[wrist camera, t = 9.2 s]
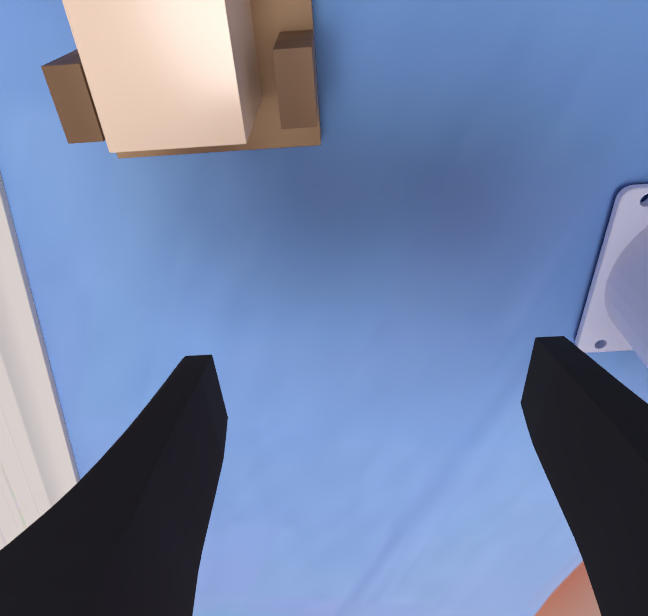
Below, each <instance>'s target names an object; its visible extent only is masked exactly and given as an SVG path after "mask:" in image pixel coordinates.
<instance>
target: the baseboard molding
mask: <svg viewBox="0 0 648 616" xmlns="http://www.w3.org/2000/svg"><path fill="white" fill-rule="evenodd" d="M79 481H80V479H79V475H78V471H77V467H76V463H75V459H74V456H73V452H72V448H71V444H70V440H69V436H68V432H67V429H66V425H65V421H64V417H63V413H62V409H61V405H60V401H59V398H58V394H57V390H56V386H55V382H54V378H53V374H52V371H51V367H50V363H49V359H48V355H47V351H46V347H45V343H44V340H43V336H42V332H41V328H40V324H39V320H38V316H37V313H36V309H35V305H34V301H33V297H32V293H31V289H30V286H29V282H28V278H27V274H26V270H25V266H24V262H23V258H22V255H21V251H20V247H19V243H18V239H17V235H16V231H15V228H14V224H13V220H12V216H11V212H10V208H9V204H8V201H7V197H6V193H5V189H4V185H3V181H2V177H1V173H0V550H1V549H2V548H4V547H5V546H6V545H7V544H9V543H10V542H11V541H12V540H13V539H15V538H16V537H17V536H18V535H19V534H21V533H22V532H23V531H24V530H25V529H26V528H28V527H29V526H30V525H31V524H32V523H34V522H35V521H36V520H37V519H38V518H39V517H41V516H42V515H43V514H44V513H45V512H47V511H48V510H49V509H50V508H51V507H52V506H53V505H54V504H56V503H57V502H58V501H59V500H60V499H61V498H62V497H63V496H64V495H65V494H66V493H67V492H68V491H69V490H70V489H71V488H72V487H74V486H75V485H76V484H77V483H78V482H79Z"/></svg>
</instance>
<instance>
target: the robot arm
mask: <svg viewBox="0 0 648 616" xmlns="http://www.w3.org/2000/svg"><path fill="white" fill-rule="evenodd" d="M646 194H648V184H637V185H630V186H627V187H625V188H623V189H622V190H621V191H620V192H619V193H618V195H617V197H616V199H615V203H614V206H613V210H612V213H611V217H610V220H609V224H608V227H607V231H606V234H605V238H604V241H603V245H602V248H601V252H600V255H599V259H598V262H597V266H596V269H595V273H594V276H593V280H592V283H591V287H590V290H589V294H588V297H587V301H586V304H585V308H584V311H583V315H582V318H581V322H580V326H579V329H578V333H577V336H576V340H575V344H576V345H574V344H573V343H572V342H571V341H569V340H568V339H567V338H565V337H564V336H555V337H537V338H535V342H534V346H533V351H532V355H531V360H530V364H529V369H528V373H527V378H526V382H525V386H524V391H523V395H522V400H521V406H522V409H523V413H524V416H525V420H526V424H527V427H528V430H529V433H530V437H531V440H532V443H533V446H534V448H535V450H536V453H537V455H538V457H539V460H540V462H541V464H542V467H543V469H544V471H545V473H546V476H547V478H548V480H549V482H550V485H551V487H552V489H553V491H554V493H555V496H556V498H557V500H558V502H559V505H560V507H561V509H562V511H563V514H564V516H565V518H566V520H567V522H568V525H569V527H570V529H571V531H572V534H573V536H574V538H575V541H576V543H577V546H578V548H579V551H580V553H581V556H582V558H583V561H584V564H585V567H586V570H587V573H588V576H589V579H590V582H591V585H592V588H593V591H594V594H595V597H596V600H597V603H598V606H599V609H600V612H601V616H648V404H647V403H646V402H645V401H643V400H642V399H641V398H640V397H638V396H637V395H636V394H634V393H633V392H632V391H631V390H629V389H628V388H627V387H626V386H624V385H623V384H622V383H621V382H619V381H618V380H617V379H616V378H614V377H613V376H612V375H611V374H610V373H608V372H607V371H606V370H605V369H603V368H602V367H601V366H600V365H599V364H597V363H596V362H595V361H594V360H593V359H591V358H590V357H589V356H588V355H587V354H585V353H590V352H609V351H628V350H634V351H635V353H636V354H637V355H638V356H639V358H640V359H641V360H642V362H643V363H644V364H645V366H646V367H647V368H648V198H647V199H646V200H645V201H643V202H640V200H641V198H642V197H643V196H644V195H646ZM599 340H602V341H600V342H599V343H596V342H598V341H599ZM584 352H585V353H584ZM227 420H228V416H227V412H226V408H225V404H224V401H223V397H222V393H221V389H220V385H219V381H218V377H217V373H216V369H215V365H214V361H213V357H212V355H197V356H185V357H184V358H183V359H182V360H181V361H180V363H179V364H178V365H177V367H176V368H175V369H174V371H173V372H172V373H171V375H170V376H169V377H168V379H167V380H166V381H165V382H164V384H163V385H162V386H161V388H160V389H159V390H158V392H157V393H156V394H155V395H154V397H153V398H152V399H151V401H150V402H149V403H148V404H147V406H146V407H145V408H144V409H143V410H142V412H141V413H140V414H139V415H138V417H137V418H136V419H135V420H134V421H133V423H132V424H131V425H130V426H129V427H128V429H127V430H126V431H125V432H124V433H123V434H122V436H121V437H120V438H119V439H118V440H117V441H116V442H115V443H114V444H113V446H112V447H111V448H110V449H109V450H108V451H107V452H106V453H105V455H104V456H103V457H102V458H101V459H100V460H99V461H98V462H97V463H96V464H95V465H94V466H93V467H92V468H91V469H90V471H89V472H88V473H87V474H86V475H85V476H84V477H83V478H82V479H81V480H80V481H79V482H78V483H77V484H76V485H75V486H74V487H72V488H71V489H70V490H69V491H68V492H67V493H66V494H65V495H64V496H63V497H62V498H61V499H60V500H59V501H58V502H57V503H56V504H54V505H53V506H52V507H51V508H50V509H49V510H48V511H47V512H45V513H44V514H43V515H42V516H41V517H39V518H38V519H37V520H36V521H35V522H34V523H32V524H31V525H30V526H29V527H28V528H26V529H25V530H24V531H23V532H22V533H21V534H19V535H18V536H17V537H16V538H15V539H13V540H12V541H11V542H10V543H9V544H7V545H6V546H5V547H4V548H2V549H1V550H0V616H192V614H193V606H194V599H195V591H196V584H197V576H198V570H199V565H200V560H201V554H202V550H203V545H204V541H205V537H206V533H207V528H208V524H209V520H210V515H211V511H212V507H213V503H214V498H215V494H216V490H217V485H218V481H219V476H220V472H221V468H222V463H223V458H224V450H225V441H226V430H227Z"/></svg>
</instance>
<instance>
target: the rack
mask: <svg viewBox="0 0 648 616" xmlns="http://www.w3.org/2000/svg"><path fill="white" fill-rule="evenodd" d="M250 5H251V13H252V20H253V28H254V36H255V44H256V52H257V59H258V67H259V75H260V83H261V91H262V101H261V104H260V106H259V109H258V112H257V115H256V118H255V121H254V123H253V126H252V129H251V132H250V135H249V138H248V140H247V143H246V144H236V145H221V146H206V147H191V148H176V149H161V150H146V151H131V152H116V153H117V156H118V158H131V157H146V156H162V155H177V154H192V153H207V152H222V151H238V150H253V149H268V148H283V147H298V146H314V145H321V131H320V116H319V101H318V86H317V71H316V57H315V42H314V27H313V12H312V0H250ZM41 67H42V70H43V73H44V76H45V79H46V82H47V84H48V87H49V90H50V93H51V96H52V98H53V101H54V104H55V107H56V110H57V113H58V115H59V118H60V121H61V124H62V127H63V130H64V132H65V135H66V138H67V141H68V144H69V143H84V142H99V141H104V140H105V136H104V133H103V130H102V127H101V123H100V120H99V117H98V114H97V110H96V107H95V104H94V101H93V98H92V94H91V91H90V88H89V85H88V82H87V78H86V75H85V72H84V69H83V66H82V62H81V59H80V56H79V53H78V49H77V50H75V51H73V52H71V53H69V54H66V55H64V56H62V57H60V58H58V59H56V60H54V61H52V62H49V63H47V64H45V65H43V66H41Z"/></svg>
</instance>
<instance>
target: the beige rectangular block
mask: <svg viewBox="0 0 648 616" xmlns="http://www.w3.org/2000/svg"><path fill="white" fill-rule="evenodd" d="M62 1H63V4H64V8H65V11H66V14H67V17H68V21H69V24H70V27H71V30H72V33H73V37H74V40H75V43H76V46H77V49H78V53H79V56H80V59H81V62H82V66H83V69H84V72H85V75H86V78H87V82H88V85H89V88H90V91H91V94H92V98H93V101H94V104H95V107H96V110H97V114H98V117H99V120H100V123H101V127H102V130H103V133H104V136H105V139H106V143H107V146H108V149H109V152H110V153H116V152H131V151H146V150H161V149H176V148H191V147H206V146H221V145H236V144H246V143H247V140H248V138H249V135H250V132H251V129H252V126H253V123H254V121H255V118H256V115H257V112H258V109H259V106H260V104H261V101H262V91H261V83H260V75H259V67H258V59H257V52H256V44H255V36H254V28H253V20H252V13H251V5H250V0H62Z"/></svg>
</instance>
